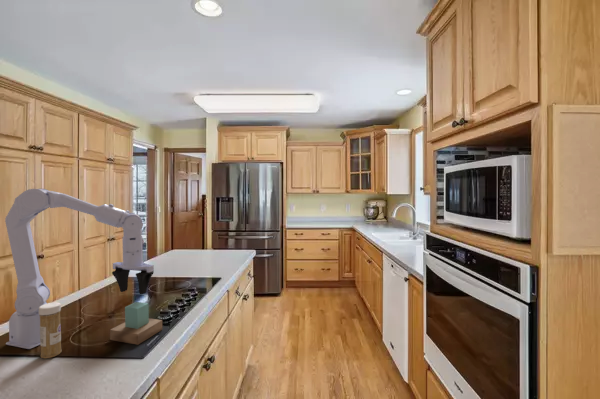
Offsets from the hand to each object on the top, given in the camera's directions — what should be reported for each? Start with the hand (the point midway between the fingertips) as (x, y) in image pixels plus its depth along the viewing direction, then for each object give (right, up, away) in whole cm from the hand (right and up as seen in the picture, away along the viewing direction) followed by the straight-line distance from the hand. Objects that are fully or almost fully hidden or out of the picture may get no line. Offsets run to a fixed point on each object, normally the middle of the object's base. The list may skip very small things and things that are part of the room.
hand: (133, 292), depth 104 cm
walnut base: (+5, -11, -7) cm, 14 cm away
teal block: (+5, -8, -7) cm, 12 cm away
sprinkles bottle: (-12, -11, -19) cm, 25 cm away
